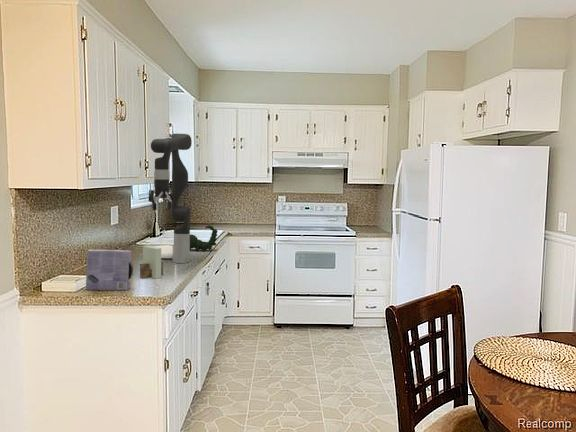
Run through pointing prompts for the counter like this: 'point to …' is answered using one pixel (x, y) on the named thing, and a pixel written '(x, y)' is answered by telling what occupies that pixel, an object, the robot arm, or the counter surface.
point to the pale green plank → (153, 260)
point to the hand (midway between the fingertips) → (161, 209)
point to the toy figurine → (204, 245)
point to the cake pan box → (108, 270)
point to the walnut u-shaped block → (147, 270)
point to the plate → (166, 251)
